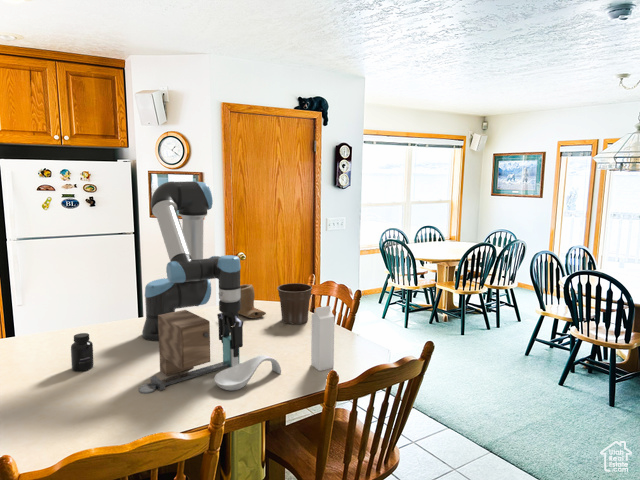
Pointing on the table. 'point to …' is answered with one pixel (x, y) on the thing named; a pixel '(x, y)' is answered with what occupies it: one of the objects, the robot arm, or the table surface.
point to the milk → (322, 339)
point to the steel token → (147, 388)
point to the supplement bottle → (82, 353)
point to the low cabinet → (183, 341)
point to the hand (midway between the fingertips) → (230, 362)
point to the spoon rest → (242, 373)
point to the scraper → (226, 363)
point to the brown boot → (249, 303)
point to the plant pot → (294, 302)
